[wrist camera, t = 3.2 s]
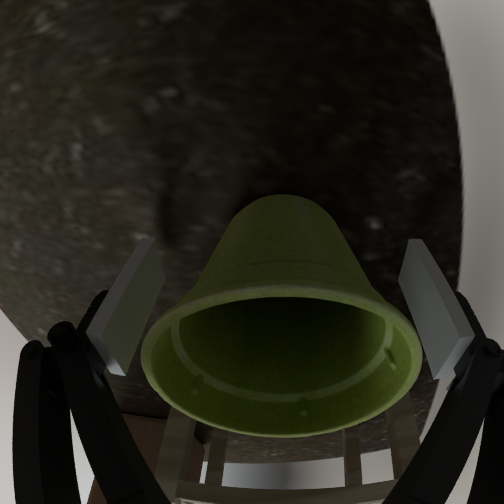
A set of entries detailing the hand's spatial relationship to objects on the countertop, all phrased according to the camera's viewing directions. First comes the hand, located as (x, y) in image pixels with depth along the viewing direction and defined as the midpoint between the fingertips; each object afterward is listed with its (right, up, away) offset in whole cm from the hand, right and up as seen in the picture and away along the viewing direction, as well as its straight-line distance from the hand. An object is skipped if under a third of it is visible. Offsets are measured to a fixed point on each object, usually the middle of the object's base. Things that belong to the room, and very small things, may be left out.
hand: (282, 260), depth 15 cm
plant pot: (0, +1, +1) cm, 2 cm away
